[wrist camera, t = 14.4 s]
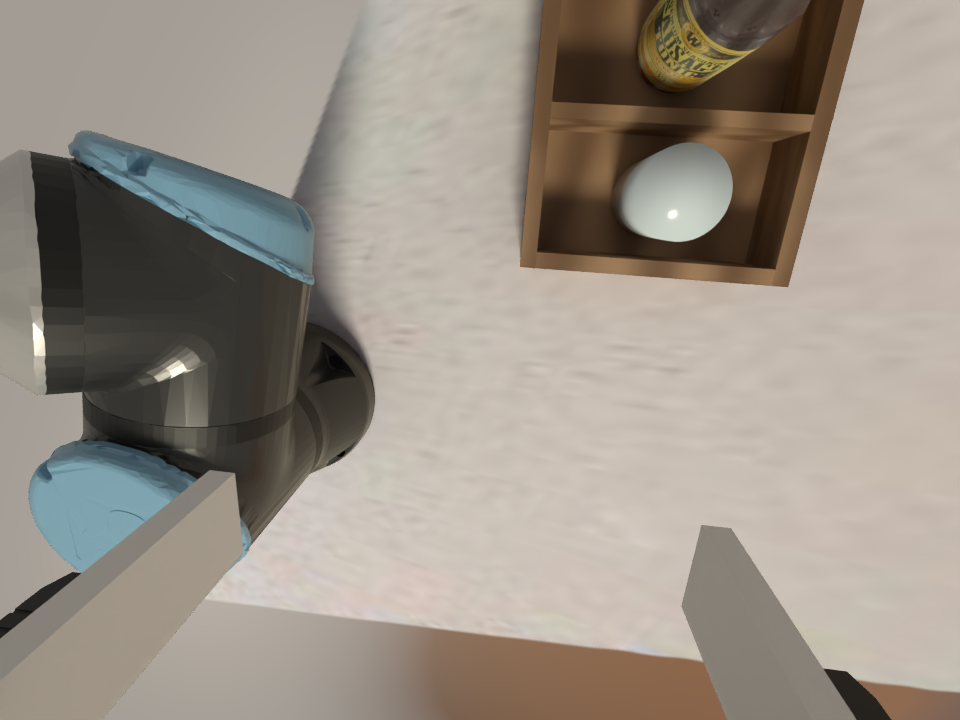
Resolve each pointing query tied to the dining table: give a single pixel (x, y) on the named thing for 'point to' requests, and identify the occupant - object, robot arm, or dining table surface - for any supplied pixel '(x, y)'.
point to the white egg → (673, 193)
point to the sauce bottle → (706, 37)
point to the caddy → (678, 142)
